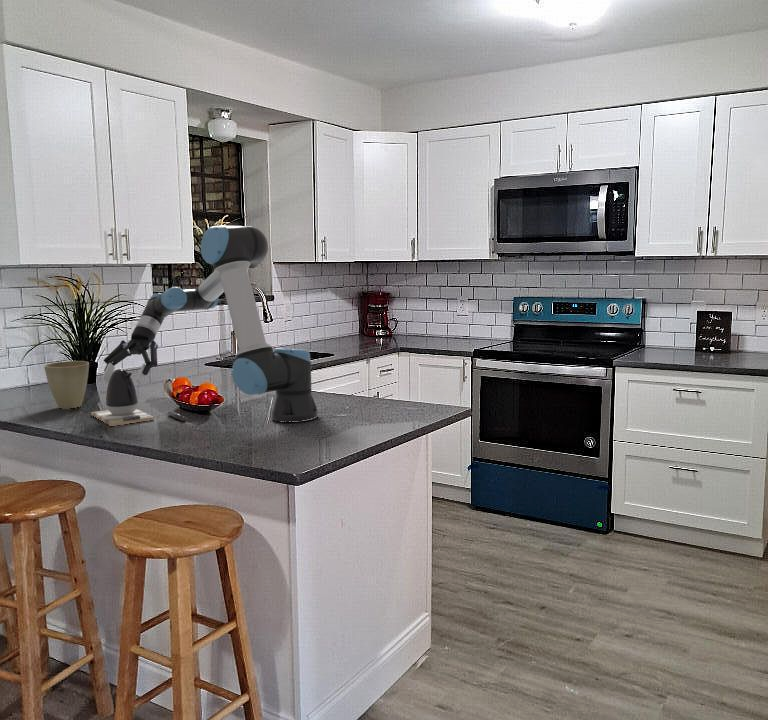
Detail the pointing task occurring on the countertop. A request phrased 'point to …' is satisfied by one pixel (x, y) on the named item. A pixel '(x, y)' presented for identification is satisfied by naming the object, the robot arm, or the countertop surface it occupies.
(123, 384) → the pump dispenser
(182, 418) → the black marker
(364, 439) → the countertop surface
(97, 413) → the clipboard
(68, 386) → the plant pot
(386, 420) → the countertop surface
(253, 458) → the countertop surface
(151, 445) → the countertop surface
